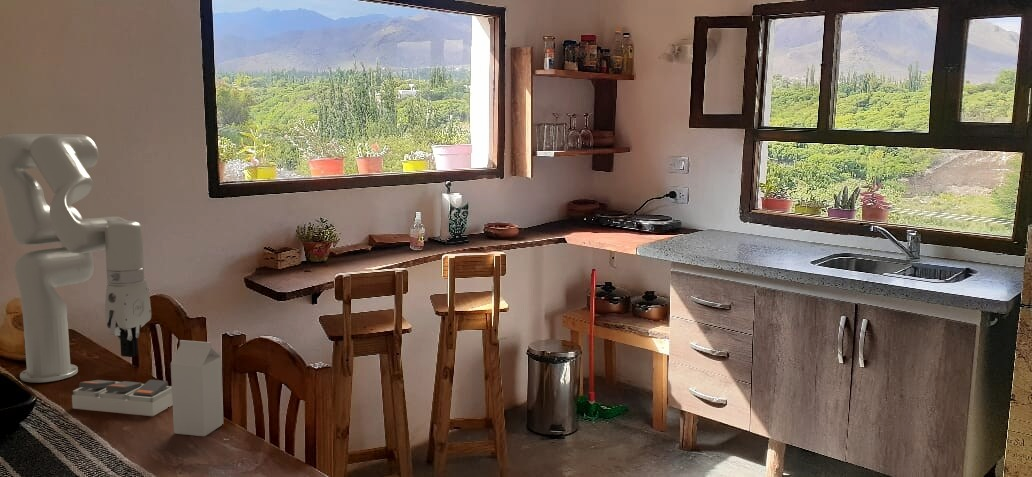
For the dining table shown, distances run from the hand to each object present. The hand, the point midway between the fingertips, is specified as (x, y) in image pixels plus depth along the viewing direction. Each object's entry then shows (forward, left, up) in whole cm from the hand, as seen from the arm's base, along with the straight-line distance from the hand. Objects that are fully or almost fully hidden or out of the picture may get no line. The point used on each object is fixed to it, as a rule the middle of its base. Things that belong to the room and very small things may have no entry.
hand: (129, 355), depth 186 cm
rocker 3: (+7, +1, -6) cm, 10 cm away
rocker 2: (+2, -2, -6) cm, 7 cm away
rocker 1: (-4, -6, -6) cm, 10 cm away
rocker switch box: (+2, -2, -11) cm, 11 cm away
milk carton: (+27, +2, -11) cm, 29 cm away
